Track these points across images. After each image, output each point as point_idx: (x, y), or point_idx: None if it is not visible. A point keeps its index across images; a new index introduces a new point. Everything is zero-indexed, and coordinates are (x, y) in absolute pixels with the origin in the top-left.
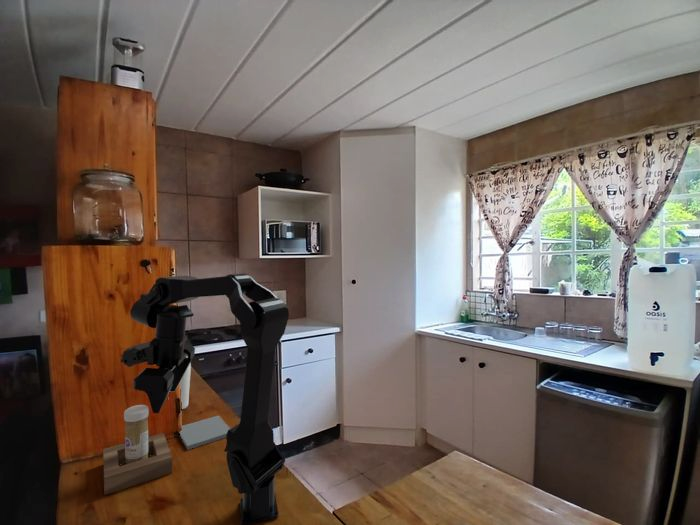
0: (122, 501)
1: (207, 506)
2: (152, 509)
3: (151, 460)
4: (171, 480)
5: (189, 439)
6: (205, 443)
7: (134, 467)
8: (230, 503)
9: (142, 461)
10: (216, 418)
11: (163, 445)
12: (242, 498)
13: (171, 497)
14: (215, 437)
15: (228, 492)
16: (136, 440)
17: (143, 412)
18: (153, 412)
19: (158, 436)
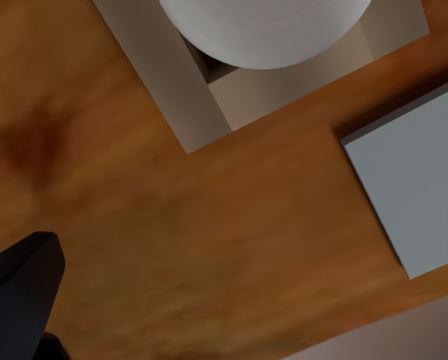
0: (32, 10)
1: None
2: (6, 134)
3: (165, 75)
4: (149, 142)
5: (399, 138)
6: (367, 195)
7: (112, 16)
8: (50, 317)
9: (162, 33)
10: None
11: (293, 81)
12: (55, 346)
13: (63, 171)
14: (385, 230)
15: (92, 306)
16: None
17: (205, 51)
18: (30, 238)
19: (395, 18)
